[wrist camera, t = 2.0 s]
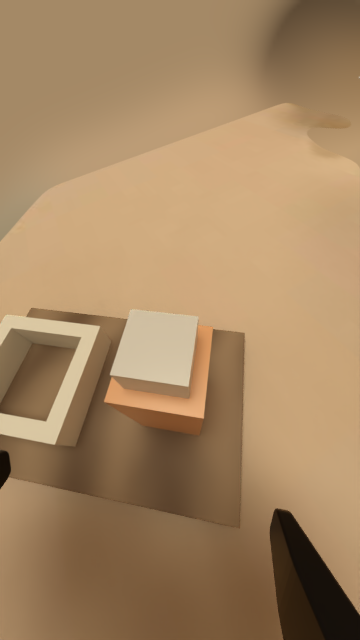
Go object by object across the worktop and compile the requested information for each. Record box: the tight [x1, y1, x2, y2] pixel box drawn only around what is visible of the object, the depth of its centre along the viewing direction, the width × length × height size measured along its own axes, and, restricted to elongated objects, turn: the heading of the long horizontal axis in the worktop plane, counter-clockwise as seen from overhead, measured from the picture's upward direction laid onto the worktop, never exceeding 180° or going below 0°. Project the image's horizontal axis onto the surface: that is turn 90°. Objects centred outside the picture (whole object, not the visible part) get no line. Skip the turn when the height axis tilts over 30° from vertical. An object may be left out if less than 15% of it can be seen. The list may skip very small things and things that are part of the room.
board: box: [0, 308, 245, 528], centre depth 20 cm, size 22×14×1 cm, turn 81°
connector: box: [104, 309, 213, 436], centre depth 14 cm, size 4×4×11 cm
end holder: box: [0, 315, 111, 447], centre depth 19 cm, size 9×9×3 cm
